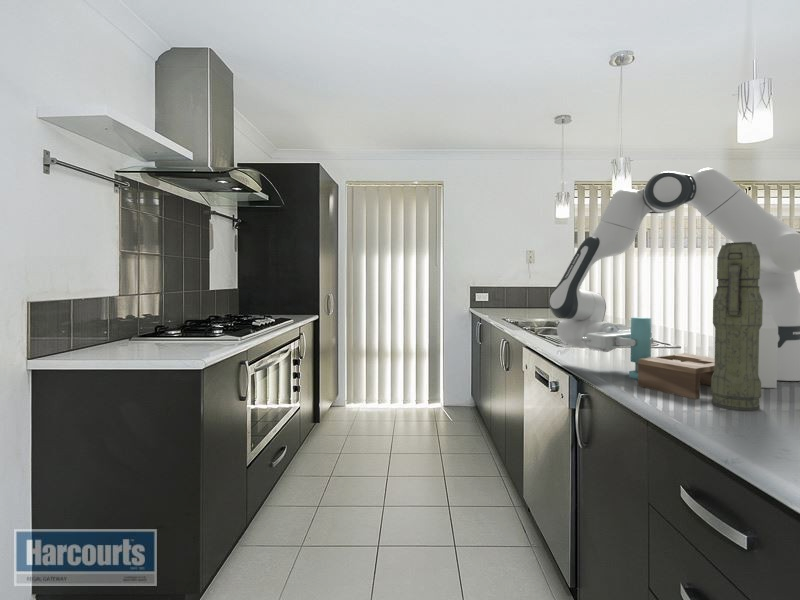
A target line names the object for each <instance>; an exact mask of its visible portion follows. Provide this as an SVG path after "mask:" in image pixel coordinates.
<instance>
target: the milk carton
mask: <svg viewBox="0 0 800 600" xmlns="http://www.w3.org/2000/svg"><path fill="white" fill-rule="evenodd" d="M777 352H778V327H777V325H776V323H775V321H774V319H773V317H772V316H771V311H763V312H762V326H761V328H760V330H759V364H758V376H759V378H760V381H761V389H762V388H765V389H766V388H767V389H777V385H778V383H777V382H778V380H777Z"/></svg>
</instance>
